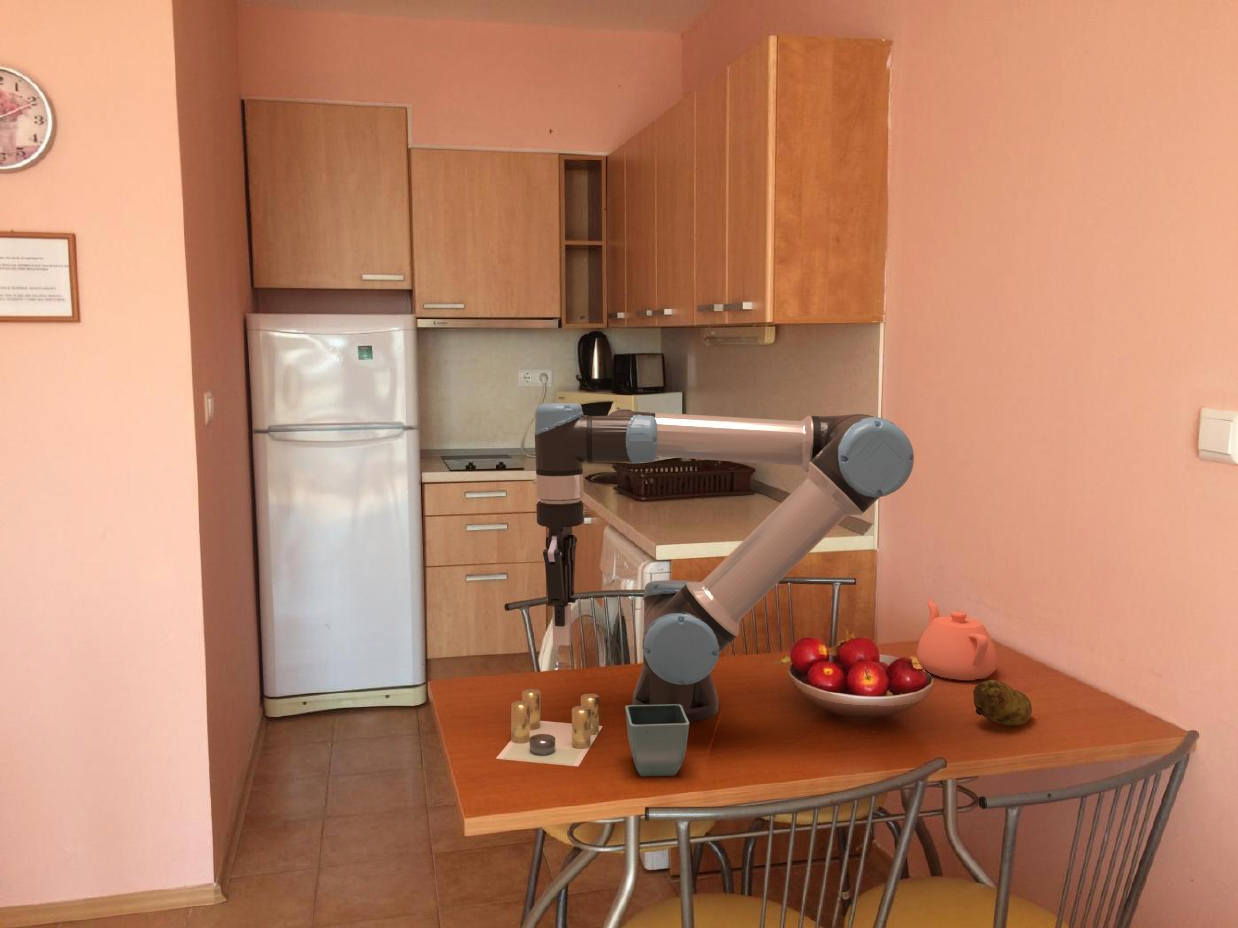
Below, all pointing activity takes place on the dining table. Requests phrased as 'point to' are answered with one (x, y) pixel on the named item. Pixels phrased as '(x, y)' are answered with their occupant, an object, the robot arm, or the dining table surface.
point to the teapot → (956, 646)
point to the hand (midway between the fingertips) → (562, 643)
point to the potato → (1001, 703)
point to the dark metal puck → (542, 744)
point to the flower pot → (657, 738)
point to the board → (562, 746)
